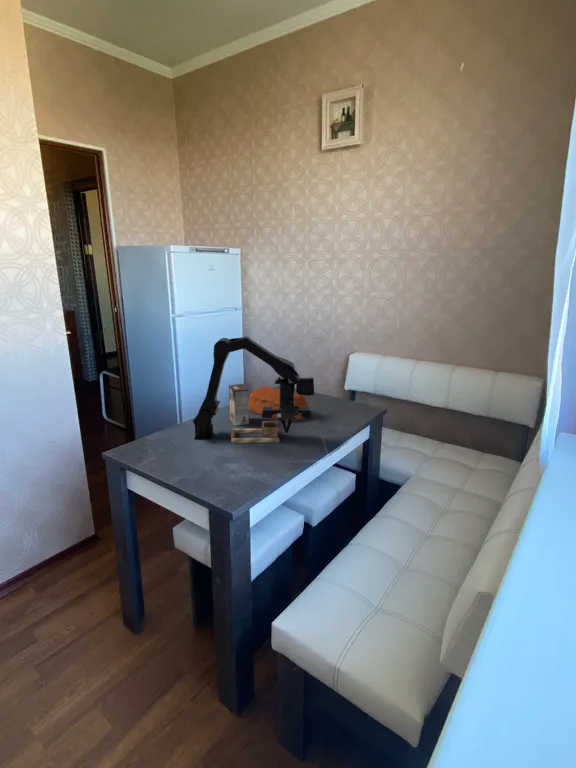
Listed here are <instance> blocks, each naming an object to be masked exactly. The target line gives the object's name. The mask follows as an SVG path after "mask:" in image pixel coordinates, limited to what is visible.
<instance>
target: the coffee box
mask: <svg viewBox="0 0 576 768" xmlns="http://www.w3.org/2000/svg"><path fill="white" fill-rule="evenodd" d="M228 398H229V399H228V400H229V420H230V421H231V423H232V424H233V425H234V427H236V426H243V425H249V424H250V423H249V422H250V421H249V411H250V410H249V405H248V400H249V389H248V388H247V387H246V385H245V384H244V383H237V384H229V385H228Z"/></svg>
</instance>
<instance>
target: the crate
mask: <svg viewBox="0 0 576 768" xmlns="http://www.w3.org/2000/svg"><path fill="white" fill-rule="evenodd" d="M278 424H279V423H278V420H276V421H274V420H272V421H268V420H266V421H265V420H264V421H262V422H261V429H262V433H261V438H279V433H278V428H279V426H278Z"/></svg>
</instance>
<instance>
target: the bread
mask: <svg viewBox="0 0 576 768" xmlns="http://www.w3.org/2000/svg"><path fill="white" fill-rule="evenodd" d="M279 393H280V388H279V389H278V388H275V387H271V386H267V385H265V386H263V387H259V388H256V389H254V390H253V391H252V392H251V393H250V395H249V397H248V411H250V412H251V413H255V414H258V415H261V416H262V408H263V407H273V409H279ZM294 405H295V406H299V409H300V407H309V406H308V402H307V400H306V397H305V395H299V394H298V393H295V394H294ZM271 418H272V419H277V414H273V416H272V417H271ZM271 418H270V419H271ZM301 419H304V418H303V417H302V416H301V414H299V416H296V420H293V421H292V423H293V422H296V421H298V420H301ZM277 420H278V419H277ZM285 422H287V419H285Z"/></svg>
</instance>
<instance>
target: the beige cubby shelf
mask: <svg viewBox="0 0 576 768" xmlns="http://www.w3.org/2000/svg"><path fill="white" fill-rule="evenodd" d="M279 431H280V430H279V427H278V434H279ZM236 434H262V428H236V427H232V428H231V433H230V442H231V443H233V444H238V443H239V444H240V443H244V444H245V443H248V444H249V443H251V444H252V443H280V437H278V438H262V437H235V436H236Z"/></svg>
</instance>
